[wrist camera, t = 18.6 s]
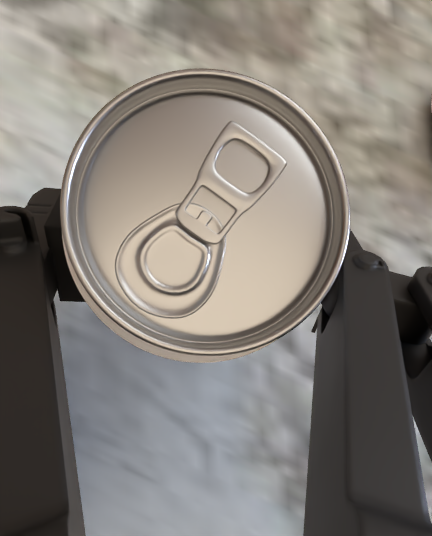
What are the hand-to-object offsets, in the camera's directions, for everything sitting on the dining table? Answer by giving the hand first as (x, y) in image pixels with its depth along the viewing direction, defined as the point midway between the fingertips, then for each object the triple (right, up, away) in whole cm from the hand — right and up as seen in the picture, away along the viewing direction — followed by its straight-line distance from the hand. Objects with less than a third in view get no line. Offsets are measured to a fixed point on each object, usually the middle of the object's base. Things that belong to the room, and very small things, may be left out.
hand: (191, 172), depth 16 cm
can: (-1, -4, +3) cm, 5 cm away
